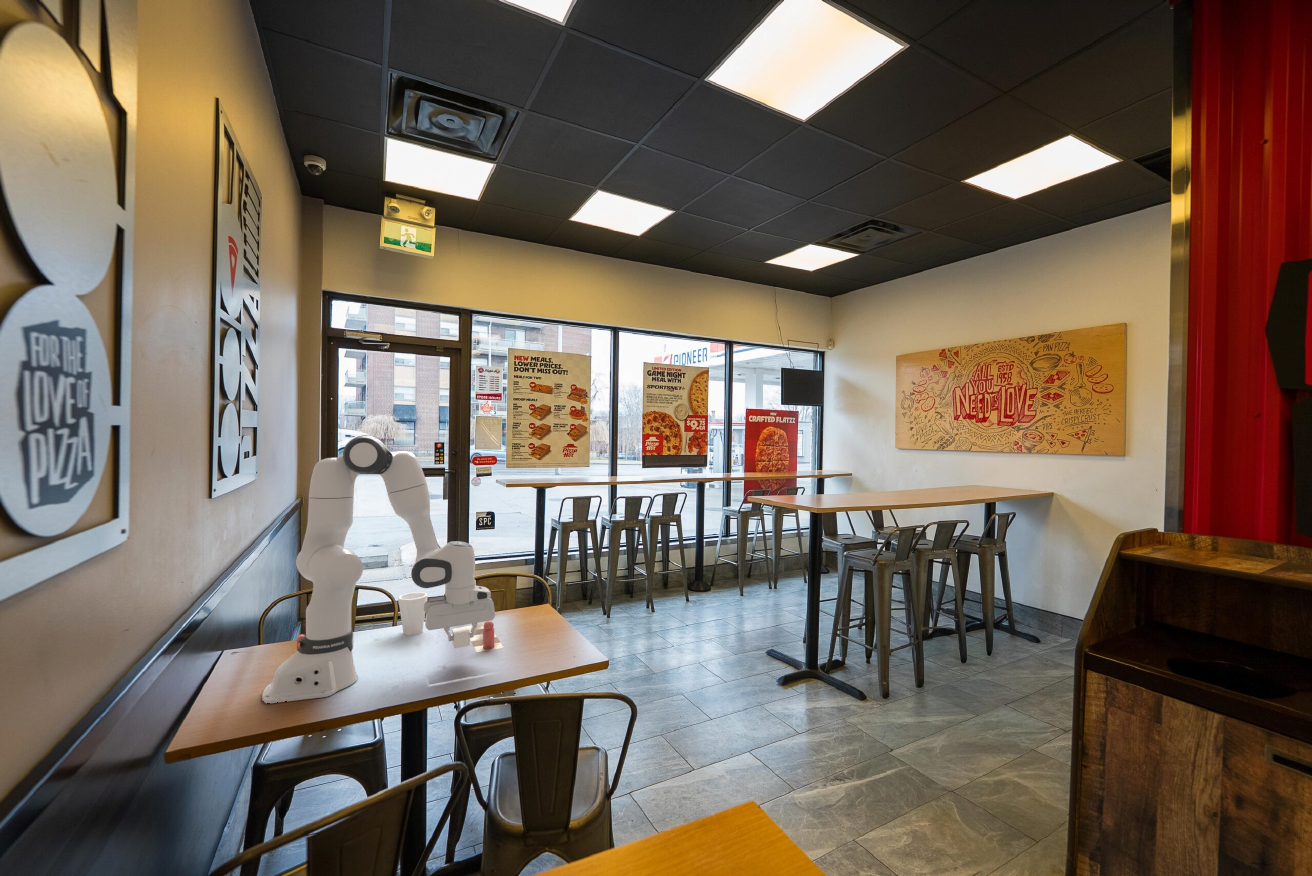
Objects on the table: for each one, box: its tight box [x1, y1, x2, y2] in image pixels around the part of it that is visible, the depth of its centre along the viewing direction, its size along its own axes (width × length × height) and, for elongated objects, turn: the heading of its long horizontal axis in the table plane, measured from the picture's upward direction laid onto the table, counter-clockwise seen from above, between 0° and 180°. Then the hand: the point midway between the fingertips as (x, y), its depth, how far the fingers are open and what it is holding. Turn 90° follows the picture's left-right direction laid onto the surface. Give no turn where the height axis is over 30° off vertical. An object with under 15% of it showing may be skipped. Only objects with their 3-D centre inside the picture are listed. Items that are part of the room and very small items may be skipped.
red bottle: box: [482, 620, 495, 649], centre depth 181 cm, size 4×4×9 cm
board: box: [464, 623, 504, 653], centre depth 191 cm, size 9×28×1 cm, turn 27°
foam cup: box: [398, 591, 428, 636], centre depth 197 cm, size 10×9×13 cm
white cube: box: [451, 626, 471, 649], centre depth 170 cm, size 4×4×4 cm
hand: (461, 638), depth 170 cm, fingers closed on white cube, 4 cm apart
